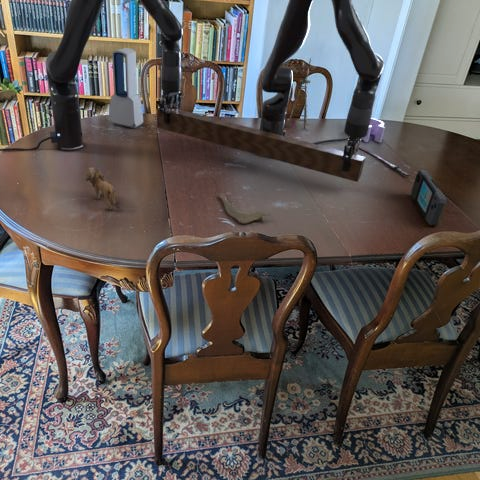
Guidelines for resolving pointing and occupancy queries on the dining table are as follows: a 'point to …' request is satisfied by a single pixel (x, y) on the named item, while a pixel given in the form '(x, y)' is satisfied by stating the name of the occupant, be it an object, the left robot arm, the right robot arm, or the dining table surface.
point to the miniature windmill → (301, 95)
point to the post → (262, 143)
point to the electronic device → (125, 102)
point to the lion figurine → (101, 186)
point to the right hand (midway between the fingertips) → (347, 168)
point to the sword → (386, 162)
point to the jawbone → (239, 215)
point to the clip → (375, 130)
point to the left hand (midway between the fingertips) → (170, 121)
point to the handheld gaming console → (428, 197)
